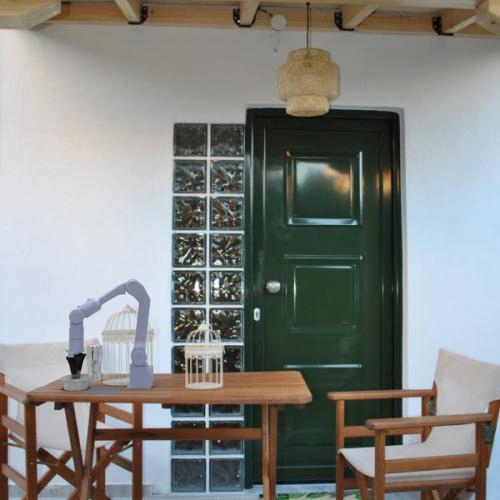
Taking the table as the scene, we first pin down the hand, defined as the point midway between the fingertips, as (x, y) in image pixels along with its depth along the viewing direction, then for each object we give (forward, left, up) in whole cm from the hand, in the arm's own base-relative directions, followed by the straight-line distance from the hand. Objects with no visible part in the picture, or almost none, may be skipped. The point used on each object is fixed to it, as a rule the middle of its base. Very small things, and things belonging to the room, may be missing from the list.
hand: (76, 372), depth 259 cm
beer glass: (-2, -19, -7) cm, 20 cm away
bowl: (0, 0, -7) cm, 7 cm away
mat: (-12, +3, -6) cm, 14 cm away
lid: (0, 0, -3) cm, 3 cm away
